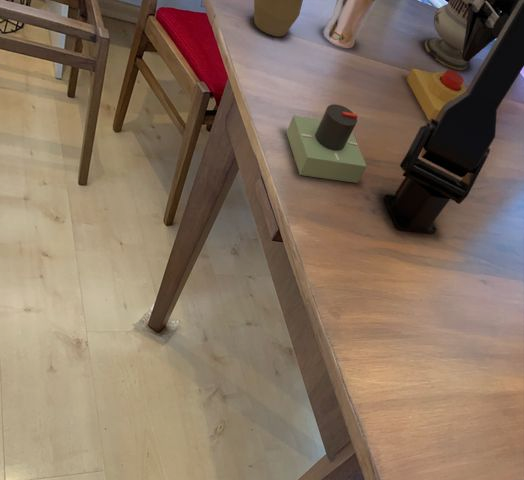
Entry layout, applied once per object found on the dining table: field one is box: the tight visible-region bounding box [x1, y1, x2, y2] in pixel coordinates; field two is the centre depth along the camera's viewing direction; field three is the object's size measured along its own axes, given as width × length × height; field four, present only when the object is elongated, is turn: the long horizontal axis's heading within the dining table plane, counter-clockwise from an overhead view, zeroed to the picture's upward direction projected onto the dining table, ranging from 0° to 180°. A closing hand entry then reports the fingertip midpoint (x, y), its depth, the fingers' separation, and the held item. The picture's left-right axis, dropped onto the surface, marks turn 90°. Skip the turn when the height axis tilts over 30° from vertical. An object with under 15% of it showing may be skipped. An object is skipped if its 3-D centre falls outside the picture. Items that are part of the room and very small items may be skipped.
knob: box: [315, 103, 358, 150], centre depth 75 cm, size 4×4×4 cm
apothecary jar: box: [424, 0, 502, 71], centre depth 107 cm, size 12×12×18 cm
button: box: [440, 69, 465, 91], centre depth 97 cm, size 4×4×2 cm
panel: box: [286, 114, 368, 184], centre depth 78 cm, size 9×9×3 cm
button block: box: [406, 68, 467, 121], centre depth 99 cm, size 12×9×4 cm
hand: (464, 60), depth 94 cm, fingers closed
